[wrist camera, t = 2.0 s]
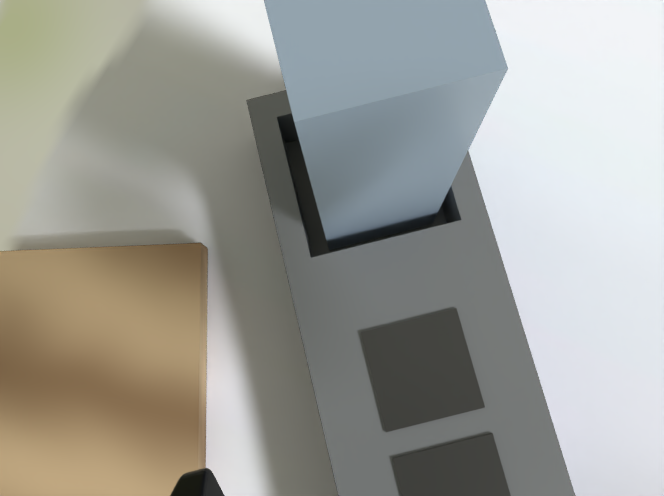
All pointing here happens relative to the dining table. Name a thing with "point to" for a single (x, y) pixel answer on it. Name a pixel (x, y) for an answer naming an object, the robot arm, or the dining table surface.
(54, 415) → the cork mat
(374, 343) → the gray slotted board
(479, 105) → the plug
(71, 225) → the dining table surface
